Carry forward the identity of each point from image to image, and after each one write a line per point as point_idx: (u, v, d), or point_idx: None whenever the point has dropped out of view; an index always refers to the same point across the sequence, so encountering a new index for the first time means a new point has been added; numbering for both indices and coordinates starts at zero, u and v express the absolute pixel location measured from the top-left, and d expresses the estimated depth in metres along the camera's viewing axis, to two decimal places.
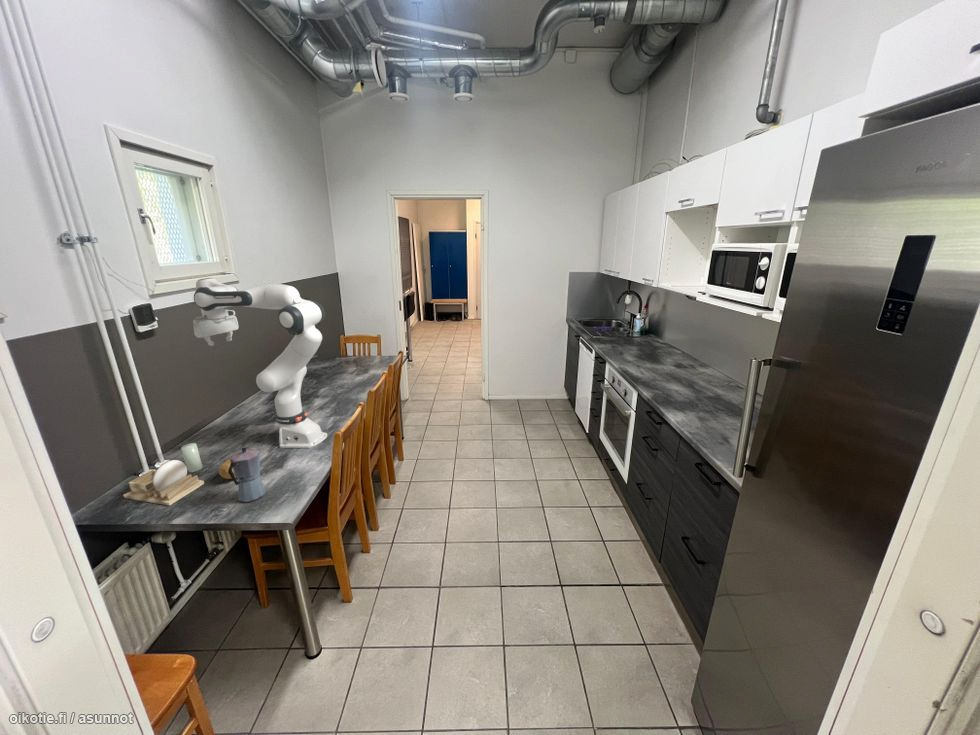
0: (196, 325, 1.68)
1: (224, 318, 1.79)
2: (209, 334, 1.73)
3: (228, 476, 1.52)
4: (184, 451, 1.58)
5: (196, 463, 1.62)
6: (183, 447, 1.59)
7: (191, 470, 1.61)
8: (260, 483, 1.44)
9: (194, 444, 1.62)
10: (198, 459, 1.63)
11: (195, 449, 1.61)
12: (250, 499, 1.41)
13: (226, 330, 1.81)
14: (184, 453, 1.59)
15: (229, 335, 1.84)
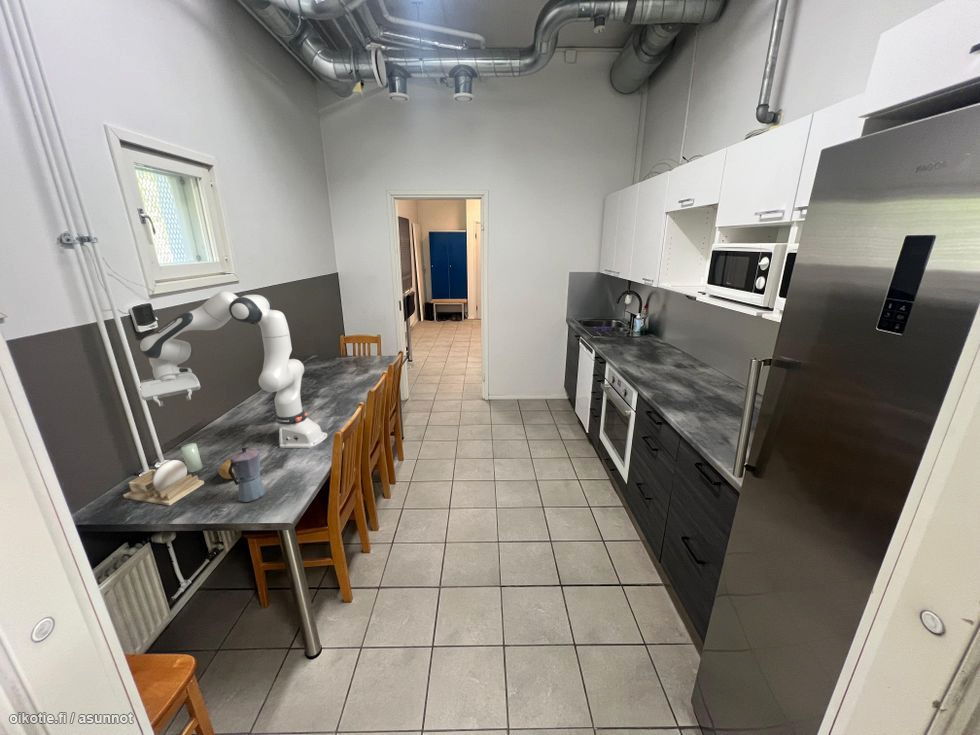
0: None
1: (177, 376, 1.68)
2: (154, 393, 1.61)
3: (228, 476, 1.52)
4: (184, 451, 1.58)
5: (196, 463, 1.62)
6: (183, 447, 1.59)
7: (191, 470, 1.61)
8: (260, 483, 1.44)
9: (194, 444, 1.62)
10: (198, 459, 1.63)
11: (195, 449, 1.61)
12: (250, 499, 1.41)
13: (180, 388, 1.66)
14: (184, 453, 1.59)
15: None
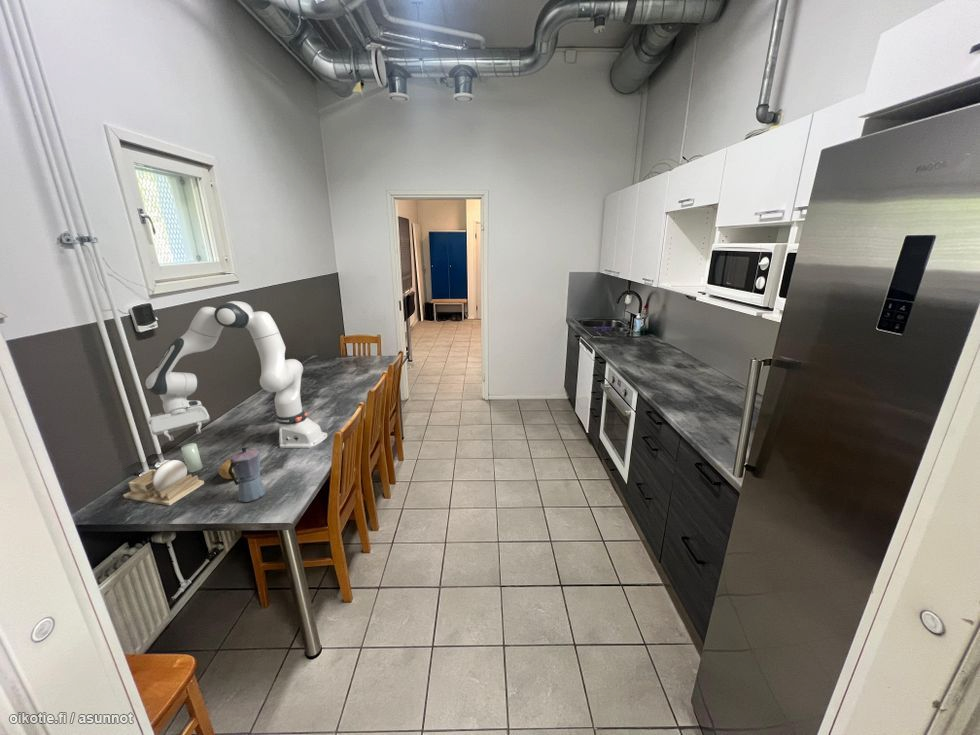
0: (150, 422, 1.62)
1: (186, 410, 1.69)
2: (164, 428, 1.62)
3: (228, 476, 1.52)
4: (184, 451, 1.58)
5: (196, 463, 1.62)
6: (183, 447, 1.59)
7: (191, 470, 1.61)
8: (260, 483, 1.44)
9: (194, 444, 1.62)
10: (198, 459, 1.63)
11: (195, 449, 1.61)
12: (250, 499, 1.41)
13: (190, 421, 1.67)
14: (184, 453, 1.59)
15: (198, 427, 1.69)
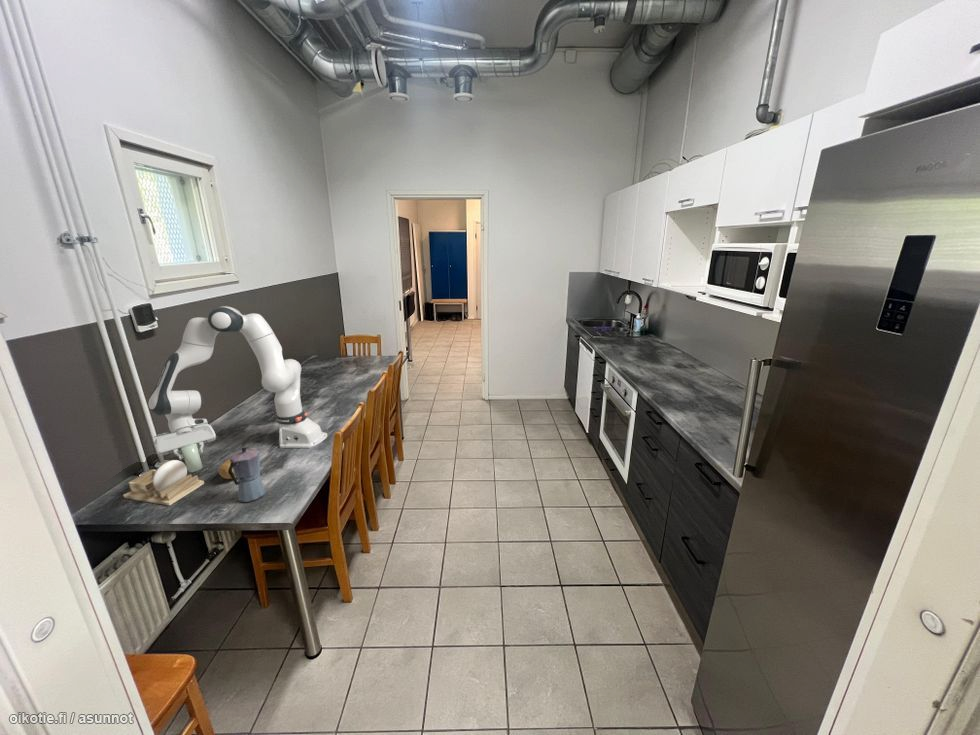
0: (155, 442, 1.58)
1: (192, 428, 1.65)
2: (170, 448, 1.58)
3: (228, 476, 1.52)
4: (184, 451, 1.58)
5: (196, 463, 1.62)
6: (183, 447, 1.59)
7: (191, 470, 1.61)
8: (260, 483, 1.44)
9: (194, 444, 1.62)
10: (198, 459, 1.63)
11: (195, 449, 1.61)
12: (250, 499, 1.41)
13: (196, 440, 1.64)
14: (184, 453, 1.59)
15: None
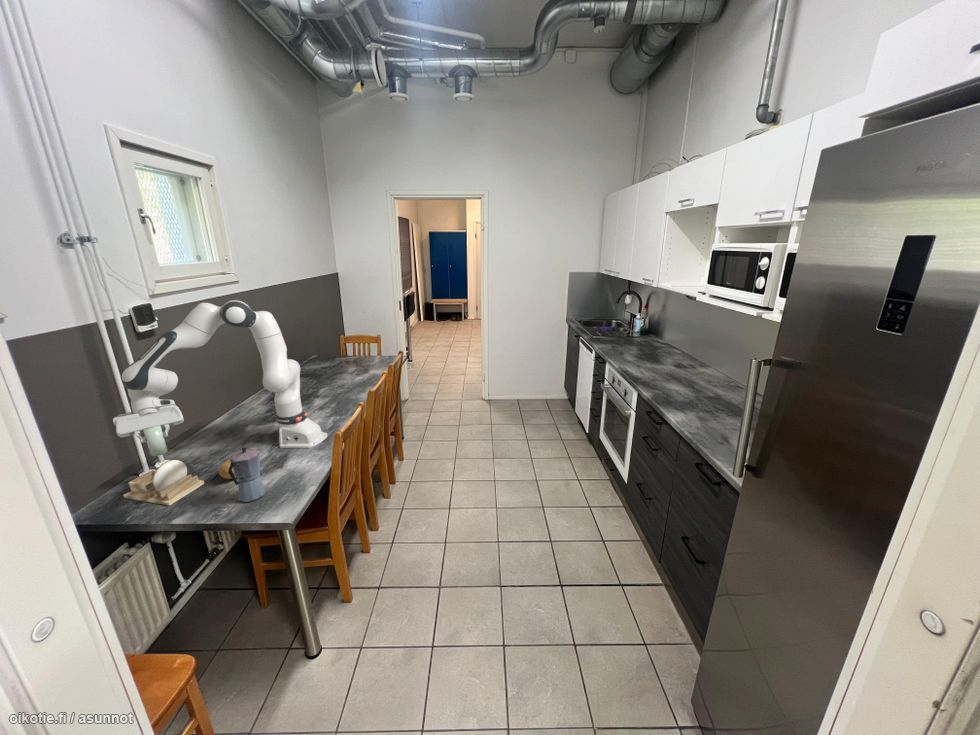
0: (115, 423, 1.46)
1: (157, 410, 1.53)
2: (131, 429, 1.46)
3: (228, 476, 1.52)
4: (146, 433, 1.46)
5: (160, 447, 1.50)
6: (146, 429, 1.47)
7: (154, 454, 1.49)
8: (260, 483, 1.44)
9: (158, 426, 1.50)
10: (162, 442, 1.50)
11: (159, 431, 1.49)
12: (250, 499, 1.41)
13: (160, 422, 1.52)
14: (146, 435, 1.47)
15: None
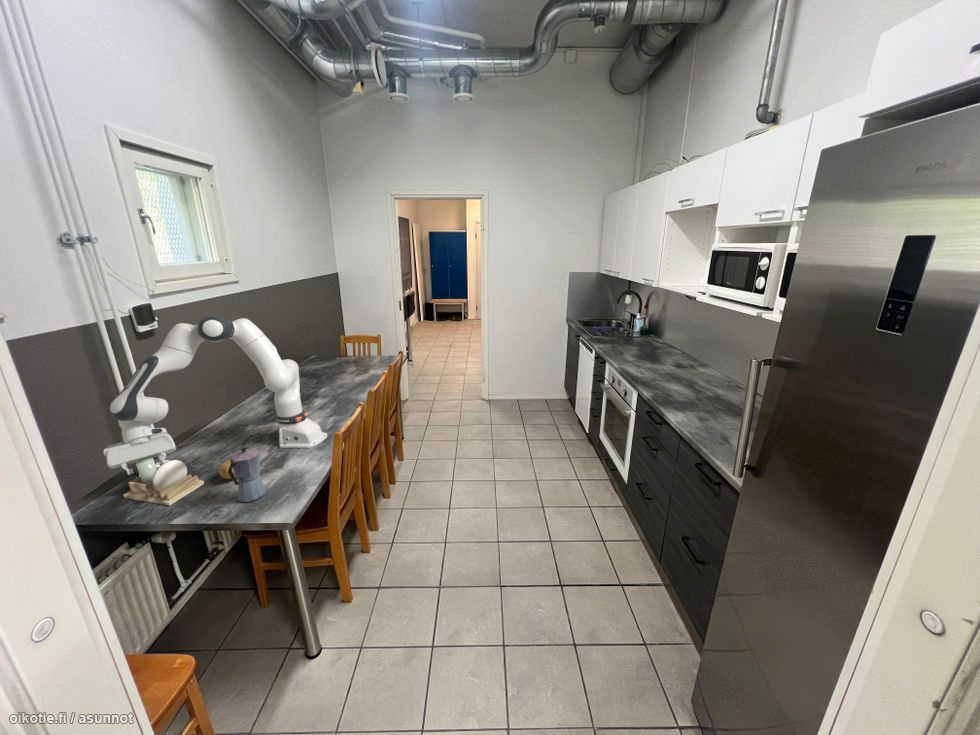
0: (106, 454, 1.44)
1: (149, 439, 1.51)
2: (122, 460, 1.44)
3: (228, 476, 1.52)
4: (139, 467, 1.45)
5: None
6: (138, 463, 1.46)
7: None
8: (260, 483, 1.44)
9: (151, 459, 1.48)
10: None
11: (152, 465, 1.47)
12: (250, 499, 1.41)
13: (152, 452, 1.50)
14: (139, 469, 1.45)
15: None
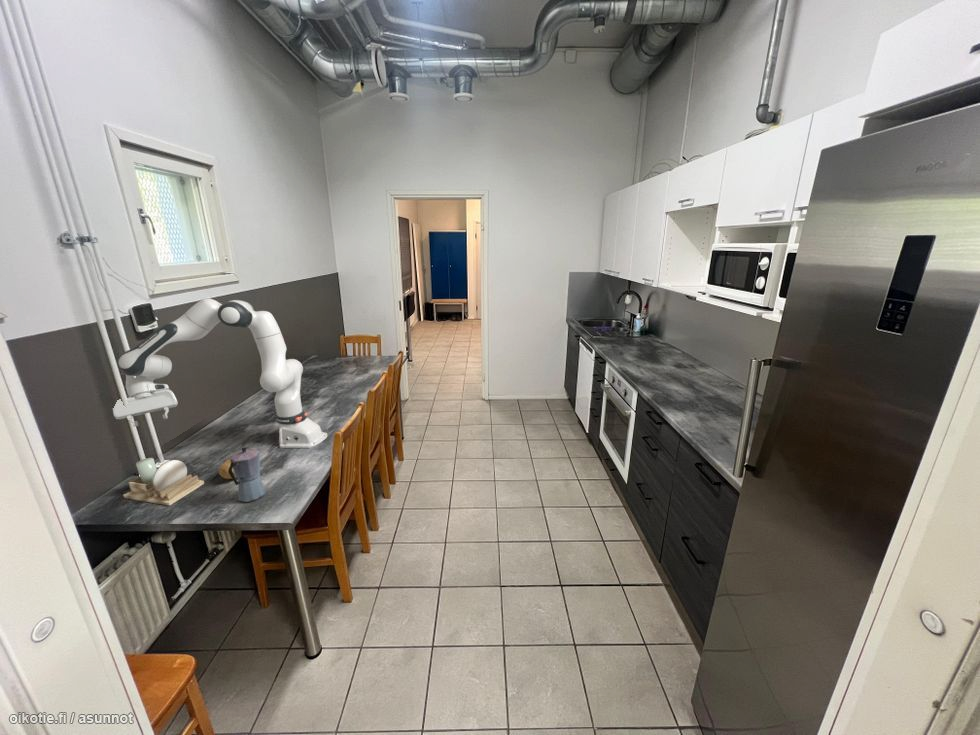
0: None
1: (152, 394, 1.60)
2: (127, 413, 1.53)
3: (228, 476, 1.52)
4: (139, 467, 1.45)
5: None
6: (138, 463, 1.46)
7: None
8: (260, 483, 1.44)
9: (151, 459, 1.48)
10: None
11: (152, 465, 1.47)
12: (250, 499, 1.41)
13: (156, 406, 1.59)
14: (139, 469, 1.45)
15: (165, 412, 1.61)
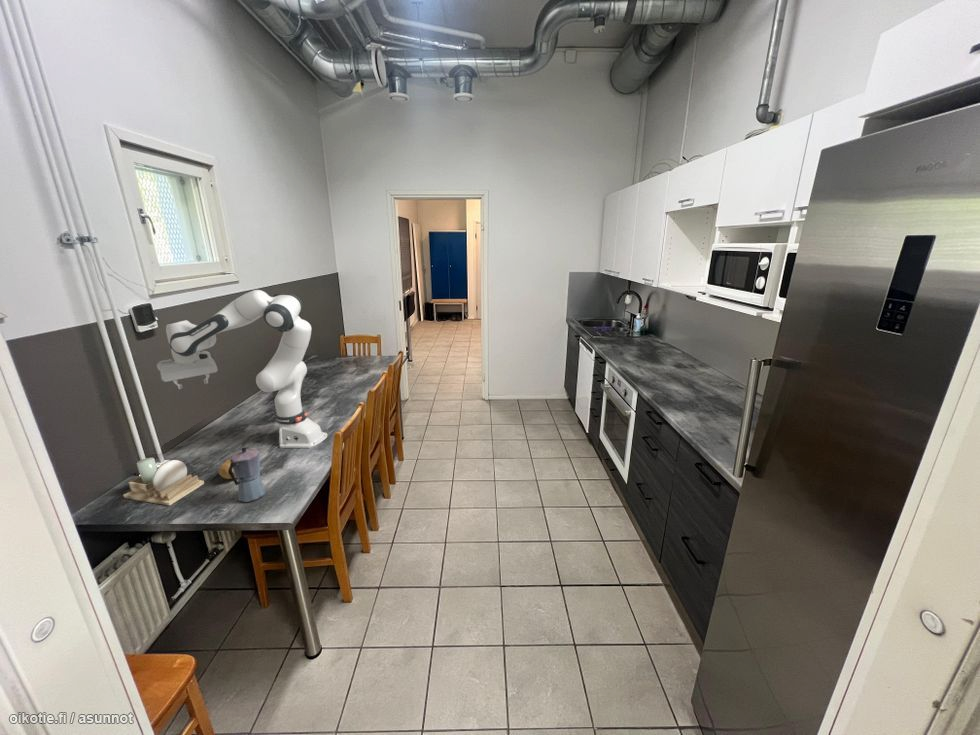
0: (159, 369, 1.63)
1: (196, 361, 1.70)
2: (174, 378, 1.66)
3: (228, 476, 1.52)
4: (140, 467, 1.45)
5: None
6: (139, 462, 1.46)
7: None
8: (260, 483, 1.44)
9: (152, 459, 1.48)
10: None
11: (153, 464, 1.48)
12: (250, 499, 1.41)
13: (199, 373, 1.71)
14: (140, 469, 1.45)
15: (206, 378, 1.75)
